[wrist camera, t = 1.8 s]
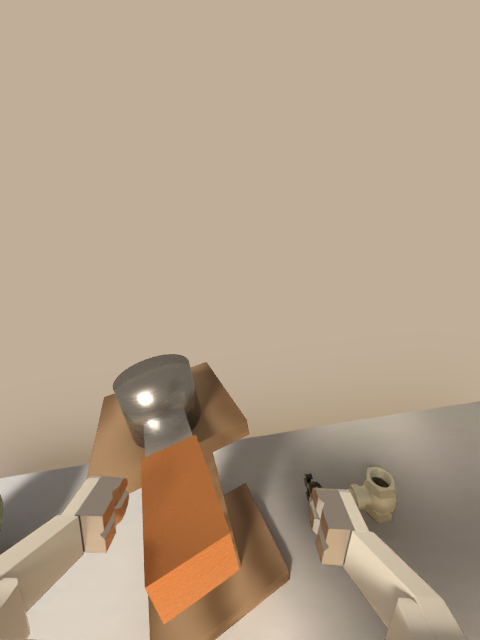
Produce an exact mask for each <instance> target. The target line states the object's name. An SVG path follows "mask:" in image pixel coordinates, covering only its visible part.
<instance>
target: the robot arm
mask: <svg viewBox="0 0 480 640" xmlns="http://www.w3.org/2000/svg"><path fill="white" fill-rule="evenodd" d="M127 485H128V481H127V478H120V477H109V476H95V475H91V476H90V477H89V478H88V479H87V480H86V481H85V482H84V484H83V485H82V487H81V488H80V489H79V491H78V492H77V493H76V495H75V496H74V498H73V499H72V500H71V502H70V503H69V504H68V506H67V507H66V509H65V510H64V511H63V513H62V514H61V515H56V516H55V517H54V518H52V519H51V520H49V521H48V522H46V523H45V524H44V525H42V526H41V527H39V528H38V529H36V530H35V531H34V532H32V533H31V534H29V535H28V536H27V537H25V538H24V539H22V540H21V541H19V542H18V543H17V544H15V545H14V546H12V547H11V548H9V549H8V550H7V551H5V552H4V553H2V554H1V555H0V640H34V639H27V638H28V636H29V634H30V627H29V623H28V619H27V615H26V612H27V611H28V610H29V609H30V608H31V607H32V606H33V605H34V604H35V603H36V602H37V601H38V600H39V599H40V598H41V597H42V596H43V595H44V594H45V593H46V592H47V591H48V590H49V589H50V588H51V587H52V586H53V585H54V584H55V583H56V582H57V581H58V580H59V579H60V578H61V577H62V576H63V575H64V574H65V572H66V571H67V570H68V569H69V568H70V567H71V566H72V565H73V564H74V563H75V562H76V561H77V560H78V559H79V558H80V557H81V556H82V555H83V554H84V553H83V552H92V553H106V552H107V550H108V548H109V546H110V544H111V542H112V540H113V538H114V536H115V533H116V528H115V526H116V525H117V524H118V523H119V522H120V521H121V520H122V519H123V516H124V514H125V512H126V508H127V505H128V499H129V493H128V491H127V490H126V487H127ZM311 495H312V498H313V500H312V501H311V502H310V506H309V517H310V522H311V527H312V530H313V531H314V533H315V534H316V535H317V540H316V545H317V549H318V553H319V556H320V560H321V564H328V565H340V566H344V569H345V570H346V571H347V573H348V574H349V576H350V577H351V578H352V580H353V581H354V583H355V584H356V585H357V587H358V588H359V590H360V591H361V592H362V594H363V595H364V597H365V598H366V599H367V601H368V602H369V604H370V605H371V606H372V608H373V609H374V611H375V612H376V613H377V615H378V616H379V617H380V619H381V620H382V622H383V623H384V624H385V626H386V627H387V629H388V631H387V635H386V638H385V640H467V638H466V637H465V635H464V633H463V632H462V630H461V628H460V627H459V625H458V623H457V622H456V620H455V618H454V617H453V615H452V613H451V612H450V610H449V608H448V607H447V605H446V603H445V602H444V600H443V599H442V598H441V597H440V596H439V595H438V594H437V593H436V592H435V591H434V590H433V589H432V588H431V587H430V586H429V585H428V584H427V583H426V582H425V581H424V580H423V579H422V578H421V577H420V576H418V575H417V574H416V573H415V572H414V571H413V570H412V569H411V568H410V567H409V566H408V565H407V564H406V563H405V562H404V561H403V560H402V559H401V558H400V557H399V556H398V555H397V554H396V553H395V552H394V551H393V550H391V549H390V548H389V547H388V546H387V545H386V544H385V543H384V542H383V541H382V540H381V539H380V538H379V537H378V536H377V535H376V534H375V533H374V532H369V529H368V527H367V525H366V523H365V521H364V519H363V517H362V515H361V513H360V511H359V509H358V507H357V505H356V503H355V501H354V499H353V497H352V495H351V493H350V491H349V490H348V489H335V488H313V489H312V493H311Z"/></svg>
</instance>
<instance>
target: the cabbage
mask: <svg viewBox="0 0 480 640" xmlns="http://www.w3.org/2000/svg"><path fill="white" fill-rule="evenodd" d="M2 505H3V501H2V498H1V495H0V530H1V526H2V518H3V507H2Z"/></svg>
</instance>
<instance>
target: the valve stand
mask: <svg viewBox="0 0 480 640" xmlns="http://www.w3.org/2000/svg"><path fill="white" fill-rule="evenodd" d="M191 372H192V376H193V380H194V384H195V388H196V392H197V396H198V400H199V404H200V408H201V416H200V419H199V422H198V423H197V425H196V426H195V428H194V429H193V430H192V431H191V432H192V435H196V436H197V439H198V442H199V445H200V448H201V451H202V453H203V456H204V459H205V462H206V465H207V468H208V471H209V474H210V476H211V479H212V482H213V485H214V488H215V491H216V494H217V497H218V499H219V502H220V505H221V508H222V511H223V514H224V517H225V519H226V522H227V525H228V528H229V531H230V534H231V538H232V542H233V546H234V550H235V554H236V558H237V561H238V565H239V569H240V570H239V571H238V572H236V573H235V574H234V575H232V576H231V577H229V578H228V579H227V580H225V581H224V582H222V583H221V584H220V585H218V586H217V587H216V588H214V589H213V590H211V591H210V592H209V593H207V594H206V595H204V596H203V597H202V598H200V599H199V600H198V601H196V602H195V603H193V604H192V605H191V606H189V607H188V608H186V609H185V610H184V611H182V612H181V613H180V614H178V615H177V616H175V617H174V618H173V619H171V620H170V621H168V622H167V623H166V624H163V622H162V620H161V618H160V616H159V614H158V612H157V610H156V608H155V606H154V605H153V603H152V601H151V599H150V597H149V595H148V599H149V624H150V640H215V639H216V638H218V637H219V636H220V635H221V634H222V633H224V632H225V631H226V630H227V629H229V628H230V627H231V626H232V625H234V624H235V623H236V622H237V621H239V620H240V619H241V618H242V617H244V616H245V615H246V614H247V613H248V612H250V611H251V610H252V609H253V608H255V607H256V606H257V605H258V604H260V603H261V602H262V601H263V600H265V599H266V598H267V597H268V596H270V595H271V594H272V593H273V592H275V591H276V590H277V589H278V588H279V587H281V586H282V585H283V584H284V583H286V582H287V581H288V580H289V579H290V577H289V570H288V568H287V566H286V564H285V562H284V560H283V558H282V556H281V554H280V551H279V549H278V547H277V545H276V543H275V541H274V539H273V537H272V535H271V533H270V531H269V529H268V527H267V525H266V523H265V521H264V519H263V517H262V515H261V513H260V511H259V509H258V507H257V505H256V503H255V501H254V499H253V497H252V495H251V493H250V491H249V489H248V487H247V485H246V483H245V484H243V485H241V486H240V487H238V488H236V489H235V490H233V491H231V492H229V493H228V494H226V495H224V496H223V492H222V488H221V484H220V480H219V476H218V472H217V468H216V464H215V460H214V456H213V452H214V451H216V450H218V449H220V448H222V447H224V446H226V445H228V444H230V443H232V442H234V441H236V440H238V439H240V438H242V437H244V436H246V435H248V434H249V430H248V425H247V420H246V418H245V417H244V416H243V414H242V413H241V411H240V410H239V408H238V407H237V405H236V404H235V403H234V401H233V400H232V398H231V397H230V395H229V394H228V392H227V391H226V390H225V388H224V387H223V385H222V384H221V382H220V381H219V379H218V378H217V377H216V375H215V374H214V372H213V371H212V369H211V368H210V367H209V365H208V364H207V362H205V363H202V364H199V365H197V366H194V367H191ZM143 458H145V448H142V447H139V446H138V445H137V444H136V443H135V442H134V441H133V438H132V436H131V433H130V430H129V428H128V425H127V423H126V420H125V418H124V415H123V413H122V410H121V408H120V405H119V403H118V400H117V397H116V395H115V394H112V395H110V396H106V397H104V401H103V405H102V410H101V415H100V419H99V424H98V428H97V433H96V438H95V442H94V447H93V451H92V456H91V460H90V465H89V470H88V474H87V479H88V478H89V477H90V476H91V475H95V476H109V477H120V478H127V481H128V485H127V487H126V490H127V491H128V493H131V492H133V491H135V490H137V489H139V488H141V487H142V478H141V459H143ZM87 479H86V480H87Z"/></svg>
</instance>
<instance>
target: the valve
mask: <svg viewBox="0 0 480 640" xmlns="http://www.w3.org/2000/svg"><path fill="white" fill-rule="evenodd" d="M311 479H313V478H312V474H305V478H304V482H305V486H306V488H307V492H306V496H307V500H308V501H309V504H310V502H311V501H312V500H313V498H312V495H311V493H312V489H313V488H317V487H318V488H322V487H321V485H320V484H319V483H317V482H311ZM348 490H349V491H350V493H351V495H352V497H353V499H354V501H355V503H356V505H357V507H358V509H359V510H364V509H365V511H366V512H367V513H368V514H369V515H370V516H371V517H372V518H374V519H375V520H376V521H377V522H390V521H392V511H393V510H394V509H395V507H396V504H397V497H396V493H395V482H394V477H393V476H392V475H391V474H390V473H389V472H388V471H386V470H385V469H383V468H382V467H369V468H367V476H366V480H365V481H364V483H363V485H362V486H358V484H356V483H355V484H349V489H348Z"/></svg>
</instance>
